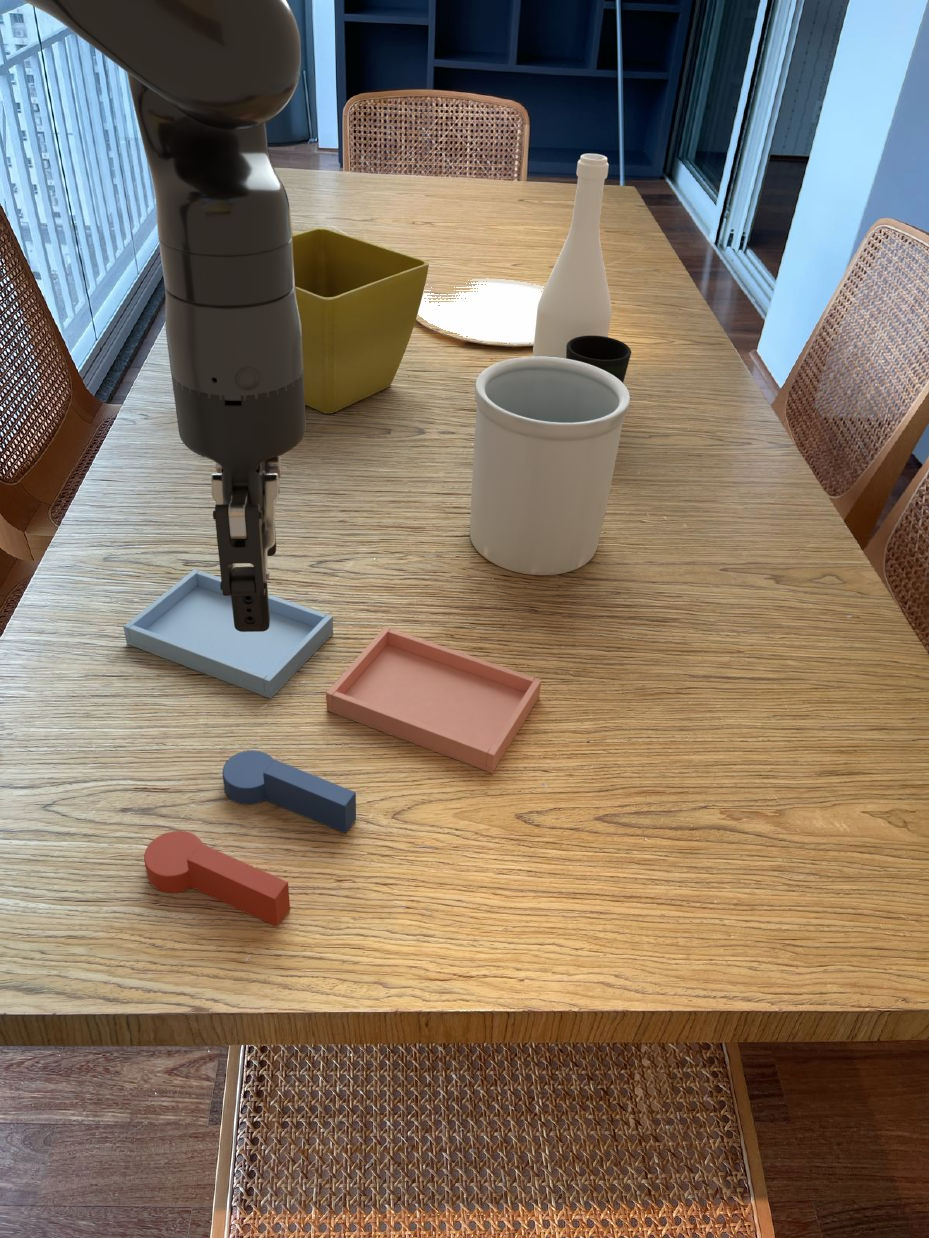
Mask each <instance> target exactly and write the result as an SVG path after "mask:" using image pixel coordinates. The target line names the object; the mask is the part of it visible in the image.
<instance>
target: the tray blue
mask: <svg viewBox="0 0 929 1238" xmlns="http://www.w3.org/2000/svg"><path fill="white" fill-rule="evenodd" d="M220 582H221V576H217V575H214V574H211V573H208V572H205V571H202V570H200V569H198V568H197V569H196V568H194V569H193V570H191V571H190V572H189V573H187V574H186V575H185V576H184V577H182V578H181V579H180V580H179V581H178V582H177V583H175V584H173V586H172V587H170V588H169V589H168V590H166V591H165V592H164V593H163V594H161V595H160V596H159V597H157V599H155V600H154V601H152V603H150V604H149V605H147V606H146V607H145V608H144V609H143V610H141V612H139V613H138V614H136V615H135V616H134V617H133V618H131V619H130V621H128V622H127V623H126V624H124V625H123V632H124V637H125V643H126V644H127V645H129V646H132V647H134V648H136V649H140V650H142V651H145V652H148V653H150V654H153V655H155V656H158V657H160V658H163V659H166V660H168V661H171V662H173V663H176V664H179V665H182V666H185V667H187V668H189V669H192V670H194V671H197V672H199V673H203V674H205V675H207V676H210V677H212V678H215V679H218V680H221V681H223V682H226V683H229V684H231V685H234V686H236V687H238V688H242V689H245V690H246V691H249V692H252V693H254V694H257V695H260V696H263V697H265V698H268V699H272V698H273V697H274V696H275V695H277V693H278V692H279V691H280V690H281V689H282V688H283V687H284V686H285V685H286V684H287V683H288V682H289V681H290V680H291V678H292V677H294V675H295V674H296V673H297V672H298V671H299V670H300V669H301V668H302V667H303V666H304V665H305V664H306V663H307V662H308V660H309V659H311V657H312V656H313V655H315V653H316V652H317V651H318V650H319V649H320V648H321V647H322V646H323V645H324V644H325V642H327V641H328V639H329V638H331V636H332V635H333V634H334V617H333V615H330V614H327V613H324V612H321V611H318V610H315V609H312V608H310V607H307V606H305V605H301V604H298V603H295V602H292V601H290V600H287V599H284V598H280V597H278V596H275V595H272V594H269V593H268V600H269V613H270V625H269V628H268V630H266V631H263V632H240V631H238V630H236V629H235V627H234V618H233V609H232V600H231V596H223V592H222V590H221V589H220Z"/></svg>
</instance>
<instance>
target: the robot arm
mask: <svg viewBox="0 0 929 1238" xmlns="http://www.w3.org/2000/svg"><path fill="white" fill-rule="evenodd" d="M22 2H25V3H27V4H28V5H30V6H32V7H34V8H36V9H38V10H40V11H42V12H44V13H46V14H47V15H49V16H50V17H52V18H53V19H56V20H57V21H58V22H60V23H61V24H63V25H64V27H66V28H68V29H69V30H70V31H72V32H73V33H74V34H76V35H77V36H78V37H80V38H81V39H82V40H83V41H85V42H86V43H87V44H89V45H90V46H92V48H94V49H96V50H97V51H98V52H100V54H102V55H103V56H105V57H106V58H107V59H109V60H110V61H111V62H113V63H114V64H115V65H117V66H118V67H120V68H121V69H122V70H123V71H125V72H126V75H127V80H128V85H129V90H130V95H131V99H132V103H133V108H134V112H135V116H136V121H137V125H138V129H139V133H140V137H141V142H142V145H143V150H144V153H145V156H146V160H147V163H148V167H149V168H148V169H149V172H150V175H151V180H152V185H153V191H154V199H155V207H156V226H157V236H158V237H157V238H158V244H159V245H158V246H159V252H160V253H159V254H160V261H161V270H162V277H163V285H164V293H165V294H164V295H165V312H164V313H165V314H164V315H165V317H164V320H165V321H164V322H165V323H164V324H165V325H164V326H165V335H166V337H165V338H166V345H167V352H168V353H167V354H168V359H169V360H168V361H169V367H170V375H171V383H172V389H173V390H172V391H173V397H174V405H175V413H176V421H177V428H178V429H177V430H178V435H179V438H180V440H181V442H182V443H183V444H184V445H185V447H186V448H187V449H188V450H190V451H191V452H193V453H194V454H197V455H198V456H200V457H203V458H207V459H209V460H211V461H213V462H215V471H216V472H212V473H211V481H210V483H211V497H212V499H213V500H214V501H215V506H214V510H213V511H212V519H213V520H214V521H215V532H216V543H217V552H218V562H219V570H220V571H219V573H220V578H221V582H220V589H221V590H222V592H223V596H231V600H232V609H233V618H234V627H235V629H236V630H238V631H240V632H263V631H266V630H268V628H269V625H270V613H269V600H268V594H269V591H268V589H269V587H268V583H269V581H270V579H271V575H270V571H269V570H268V557H271V556H274V555H275V554H276V552H277V533H276V532H277V531H276V503H277V502H278V500H279V498H280V496H279V495H280V492H281V486H280V485H281V475H282V474H281V469H282V468H281V466H282V465H281V462H282V460H281V459H282V458H281V456H282V455H285V454H287V453H288V452H291V451H292V450H293V449H294V448H296V447H297V446H298V445H299V444H300V443H301V442H302V440H303V438H304V437H305V434H306V429H307V421H306V405H305V396H304V372H303V350H302V329H301V320H300V314H299V309H298V304H297V298H296V290H295V279H294V258H293V237H292V235H294V234H293V222H292V212H291V206H290V201H289V197H288V193H287V191H286V189H285V186H284V184H283V182H282V180H281V179H280V177H279V175H278V172H277V171H276V169H275V167H274V165H273V162H272V160H271V155H270V151H269V145H268V134H267V125H266V122H268V121H270V120H271V119H273V118H274V117H276V116H277V115H278V114H279V113H281V112H282V111H283V109H284V108H285V107H286V106H287V105H288V103H289V102H290V100H291V99H292V97H293V96H294V93H295V91H296V89H297V86H298V85H299V81H300V77H301V73H302V65H303V48H302V47H303V46H302V40H301V34H300V30H299V26H298V23H297V20H296V17H295V15H294V13H293V11H292V8H291V7H290V5H289V3H288V1H287V0H22ZM236 564H249V565H252V566H236Z"/></svg>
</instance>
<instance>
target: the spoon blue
mask: <svg viewBox="0 0 929 1238" xmlns="http://www.w3.org/2000/svg"><path fill="white" fill-rule="evenodd" d="M221 773H222V780H223V788H224V793H225V795H226V796H227V797H228V798H229V799H230V800H231V801H232V802H235V803H237V804H240V805H249V806H250V805H256V804H261V803H263V802H264V801H267V802H268V803H271V804H273V805H276V806H278V807H281V808H282V809H285V810H288V811H290V812H292V813H295V814H297V815H300V816H302V817H304V818H307V819H310V820H312V821H314V822H316V823H319V824H321V825H323V826H326V827H328V828H331V829H334V830H335V831H338V832H340V833H343V834H347V833H348V831H349V830H350V828H351V827H352V826H353V824H355V822H356V820H357V793H356V791H354V790H351V789H349V788H346V787H344V786H342V785H338V784H337V783H334V782H331V781H330V780H326V779H324V778H322V777H320V776H317V775H314V774H312V773H309V772H307V771H304V770H301V769H299V768H297V767H294V766H292V765H289V764H287V763H284V762H282V761H280V760H277V759H274V758H273V757H272V756H271V755H270V754H268V753H266V752H264V751H261V750H251V749H250V750H244V751H241V752H237V753H236V754H234V755H232V756H231V757H229V758H228V759H227V760H226V762H225V763H224V765H223V766H222V772H221Z"/></svg>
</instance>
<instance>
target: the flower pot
mask: <svg viewBox="0 0 929 1238" xmlns="http://www.w3.org/2000/svg"><path fill="white" fill-rule="evenodd" d="M292 237H293V258H294V279H295V290H296V298H297V304H298V309H299V314H300V320H301V329H302V350H303V372H304V396H305V406H307V407H309V408H311V409H314V410H317V411H318V412H321V413H323V414H334V413H336V412H338V411H340V410H343V409H344V408H348V407H349V406H351V405H353V404H356V403H357V402H360V401H361V400H363V399H367V398H368V397H370V396H372V395H374V394H376V393H379V392H381V391H383V390H385V389H387V388H389V387H390V386H392V383H393V381H394V379H395V377H396V375H397V372H398V370H399V368H400V365H401V363H402V361H403V358H404V355H405V354H406V350H407V347H408V345H409V342H410V339H411V337H412V333H413V330H414V327H415V324H416V322H417V320H416V318H417V315H418V311H419V307H420V304H421V300H422V296H423V292H424V288H425V285H426V283H427V277H428V273H429V267H430V262H429V261H428V260H425V259H422V258H419V257H416V256H413V255H410V254H406V253H403V252H401V251H397V250H394V249H392V248H388V247H385V246H382V245H379V244H376V243H373V242H370V241H367V240H364V239H361V238H358V237H355V236H352V235H350V234H345V233H343V232H339V231H336V230H333V229H330V228H326V227H325V228H324V227H315V228H312V229H308V230H305V231H302V232H298V233H295V234H292Z"/></svg>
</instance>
